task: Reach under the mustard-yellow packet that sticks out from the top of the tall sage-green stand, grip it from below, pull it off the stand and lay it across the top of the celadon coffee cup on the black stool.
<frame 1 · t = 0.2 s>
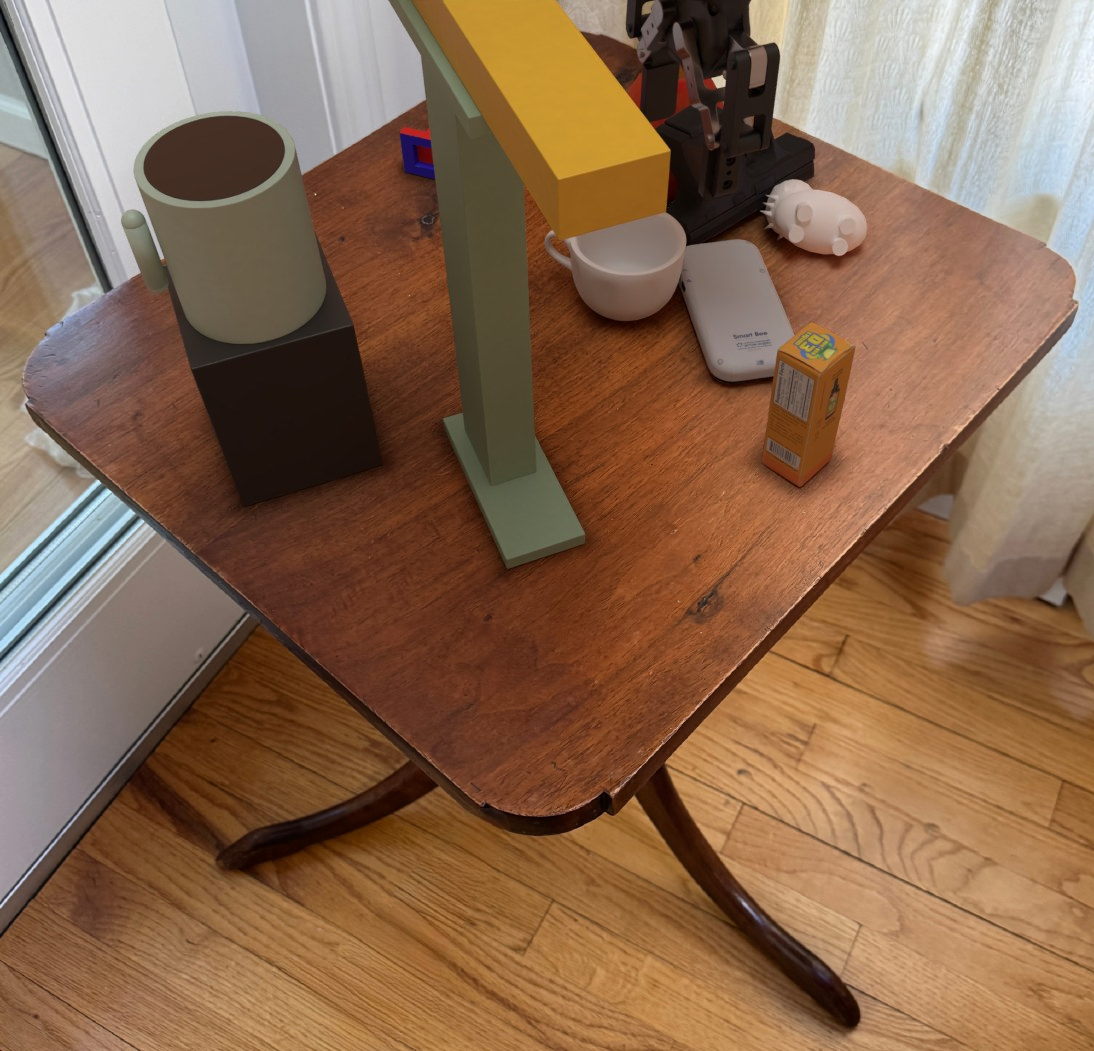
hand: (686, 154, 70), 13 cm above the table, tool pointing down, fingers open, 8 cm apart
toy building block: (411, 137, 90), point 2 cm above the table
apple: (666, 186, 88), on the table
grey smart device: (736, 296, 77), point 2 cm above the table
cup stand: (297, 435, 74), on the table
packet: (521, 89, 44), point 30 cm above the table, touching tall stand
teacup: (610, 297, 81), on the table
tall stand: (511, 483, 71), on the table
handgun: (739, 86, 78), point 10 cm above the table
toy creature: (820, 230, 80), point 3 cm above the table
supplement box: (792, 463, 72), on the table
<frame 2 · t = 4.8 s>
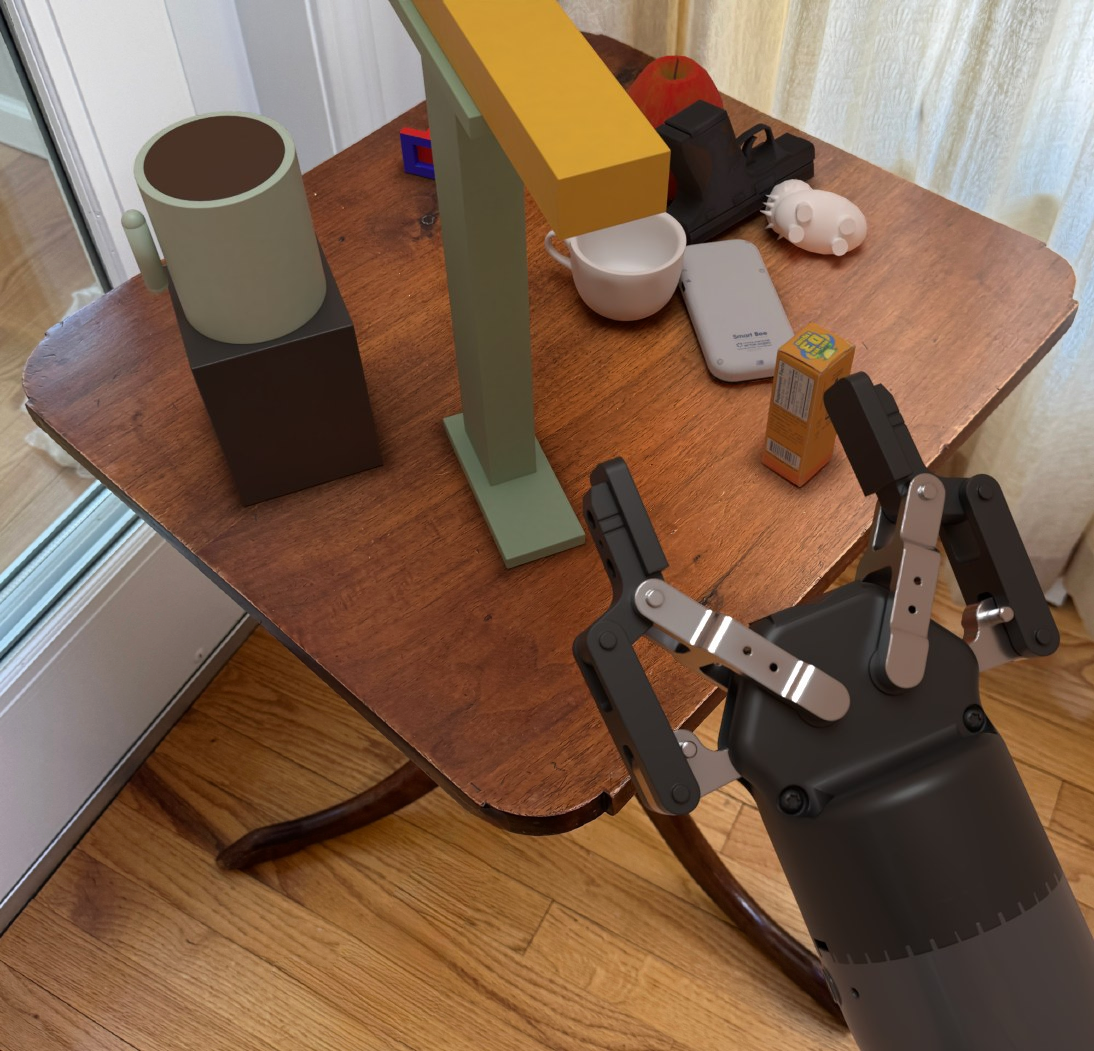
hand: (725, 422, 36), 28 cm above the table, tool pointing upward, fingers open, 8 cm apart
nothing on the table moved.
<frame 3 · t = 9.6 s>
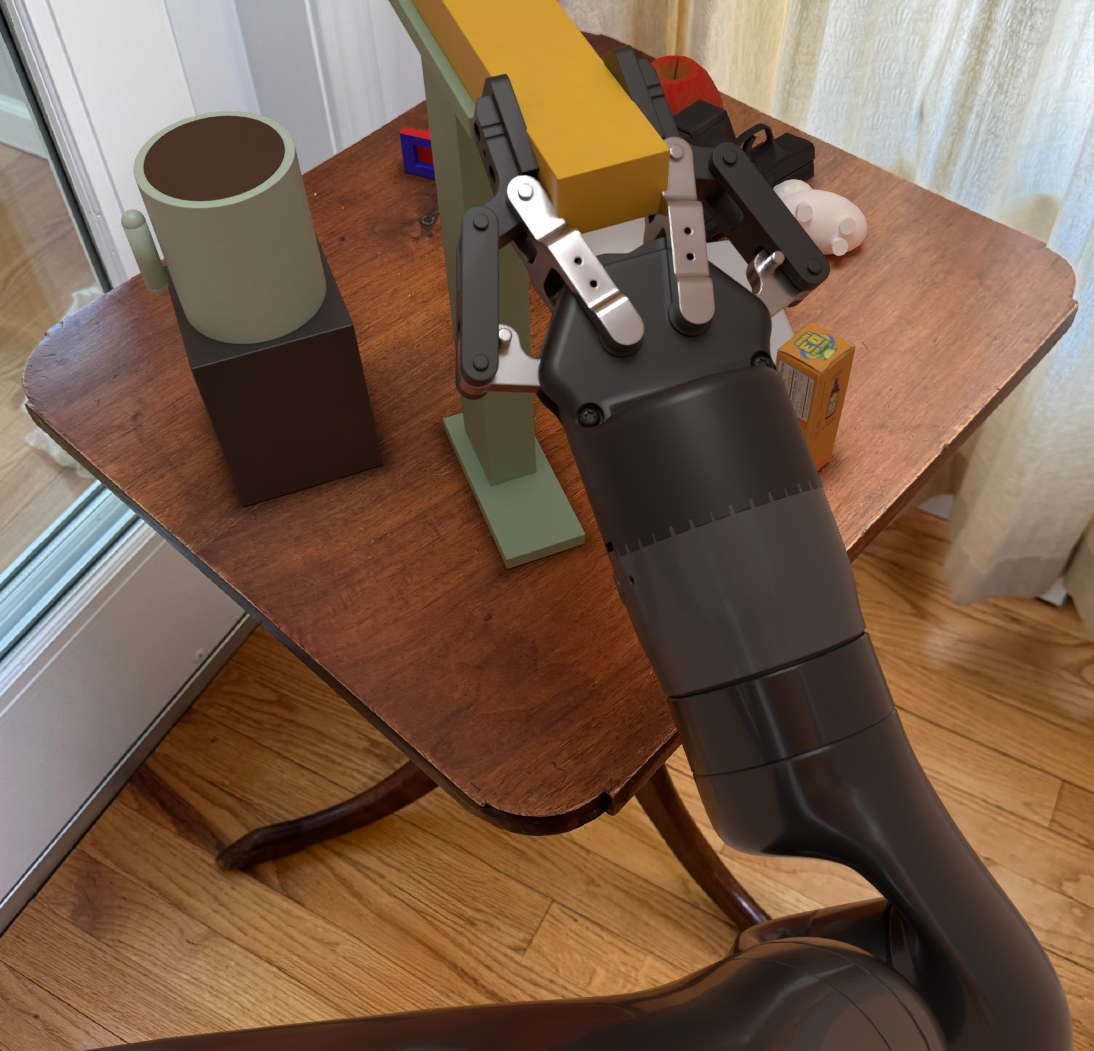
hand: (553, 75, 40), 33 cm above the table, tool pointing upward, fingers closed on packet, 4 cm apart
packet: (521, 88, 44), point 30 cm above the table, touching gripper, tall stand
everything else where it was.
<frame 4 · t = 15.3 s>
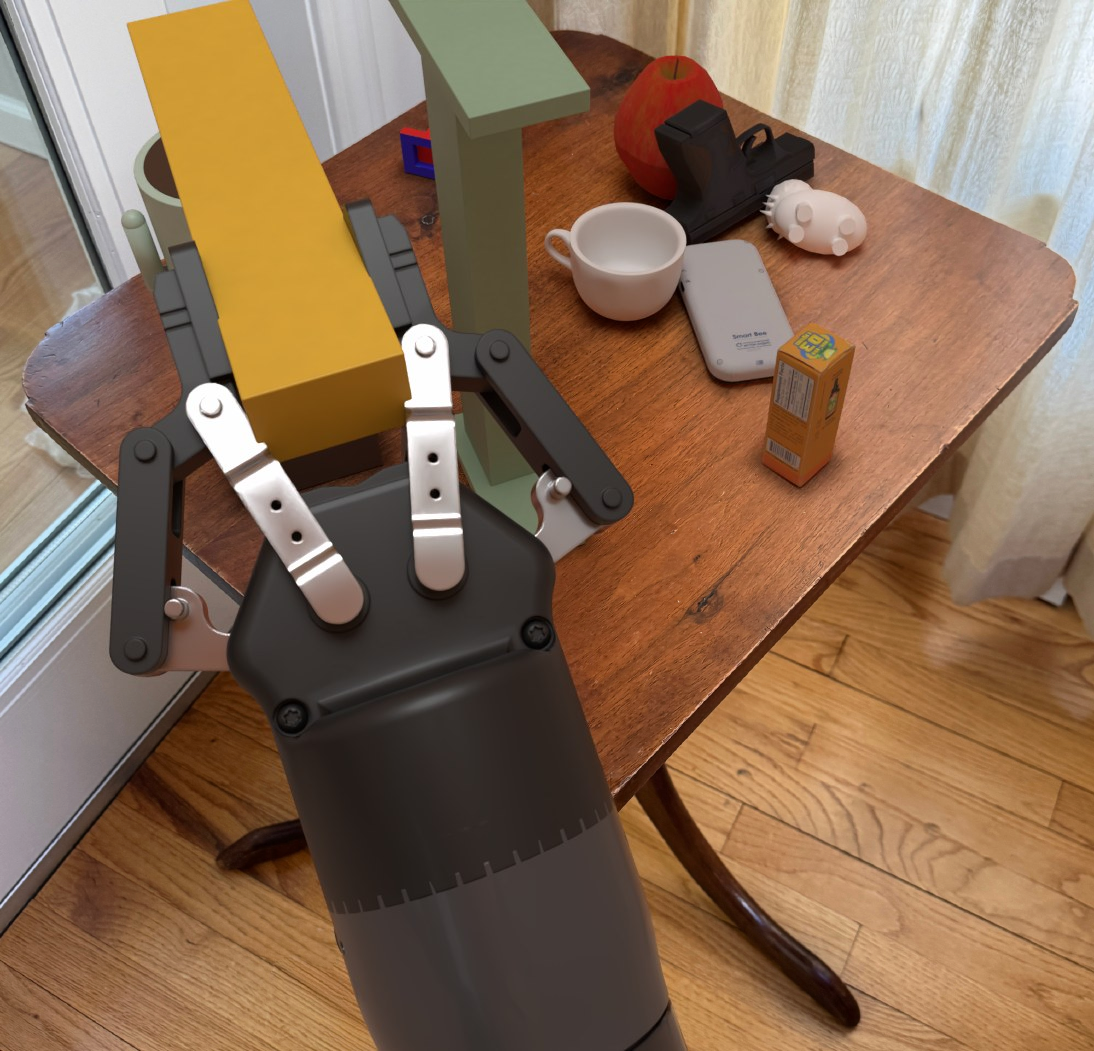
hand: (271, 236, 30), 36 cm above the table, tool pointing upward, fingers closed on packet, 4 cm apart
packet: (264, 234, 34), point 33 cm above the table, touching gripper
everything else where it was.
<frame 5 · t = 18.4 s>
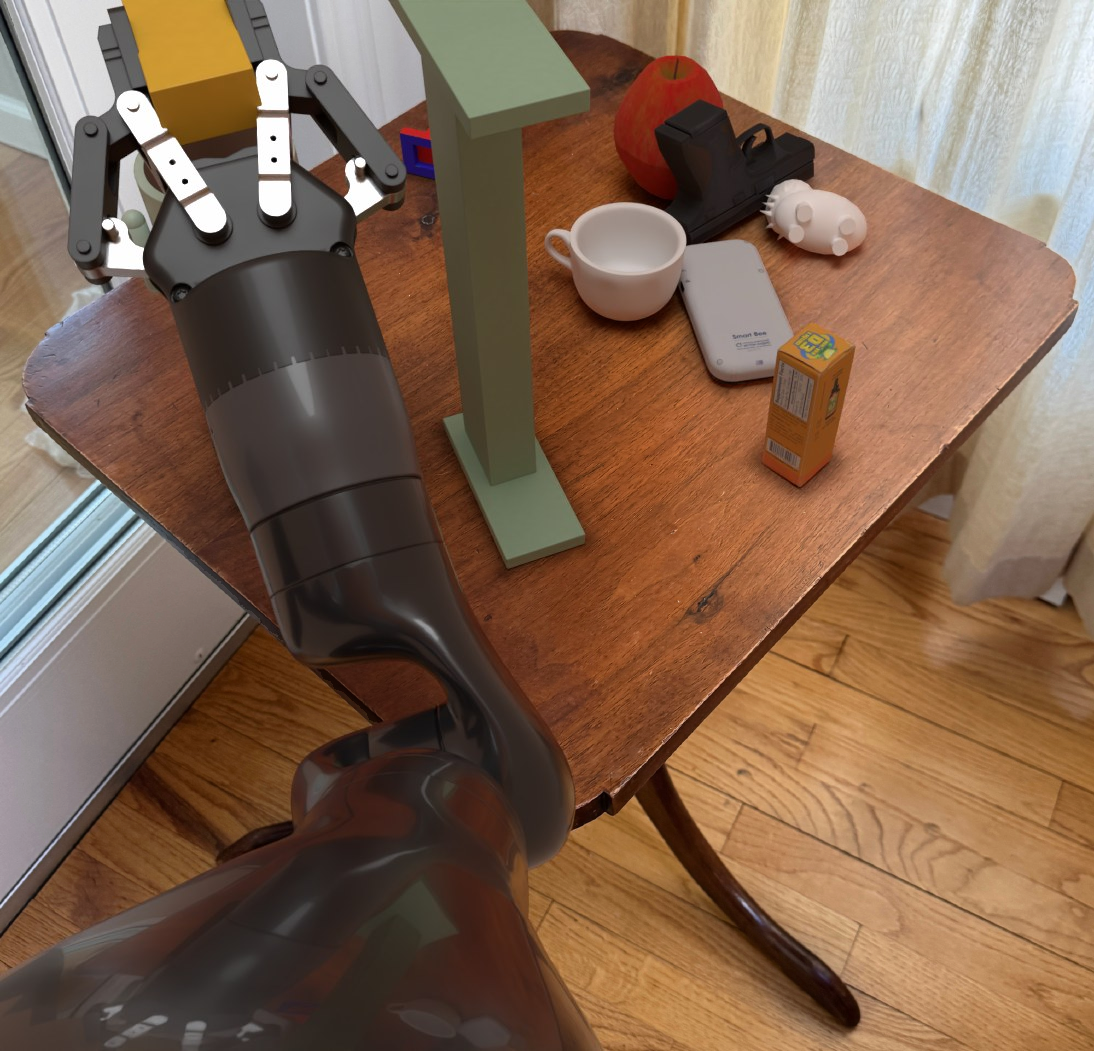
hand: (176, 8, 46), 31 cm above the table, tool pointing upward, fingers closed on packet, 4 cm apart
packet: (179, 26, 50), point 28 cm above the table, touching gripper
everything else where it was.
when the fingers open (24 cm above the table, at t = 20.8 s): packet stays where it is, resting on cup stand.
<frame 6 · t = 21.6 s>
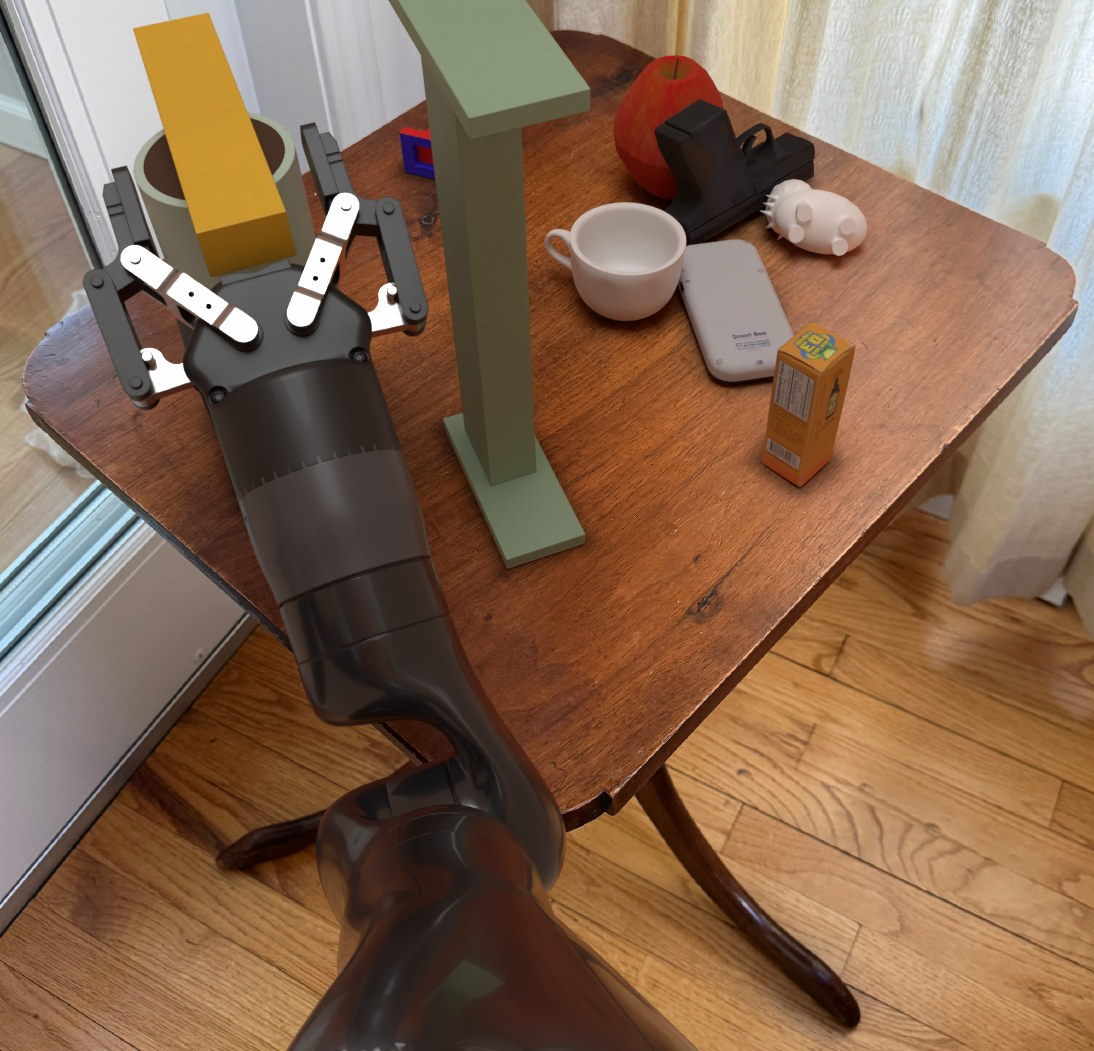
hand: (215, 152, 52), 24 cm above the table, tool pointing upward, fingers open, 8 cm apart
packet: (215, 156, 57), point 21 cm above the table, touching cup stand
everything else where it was.
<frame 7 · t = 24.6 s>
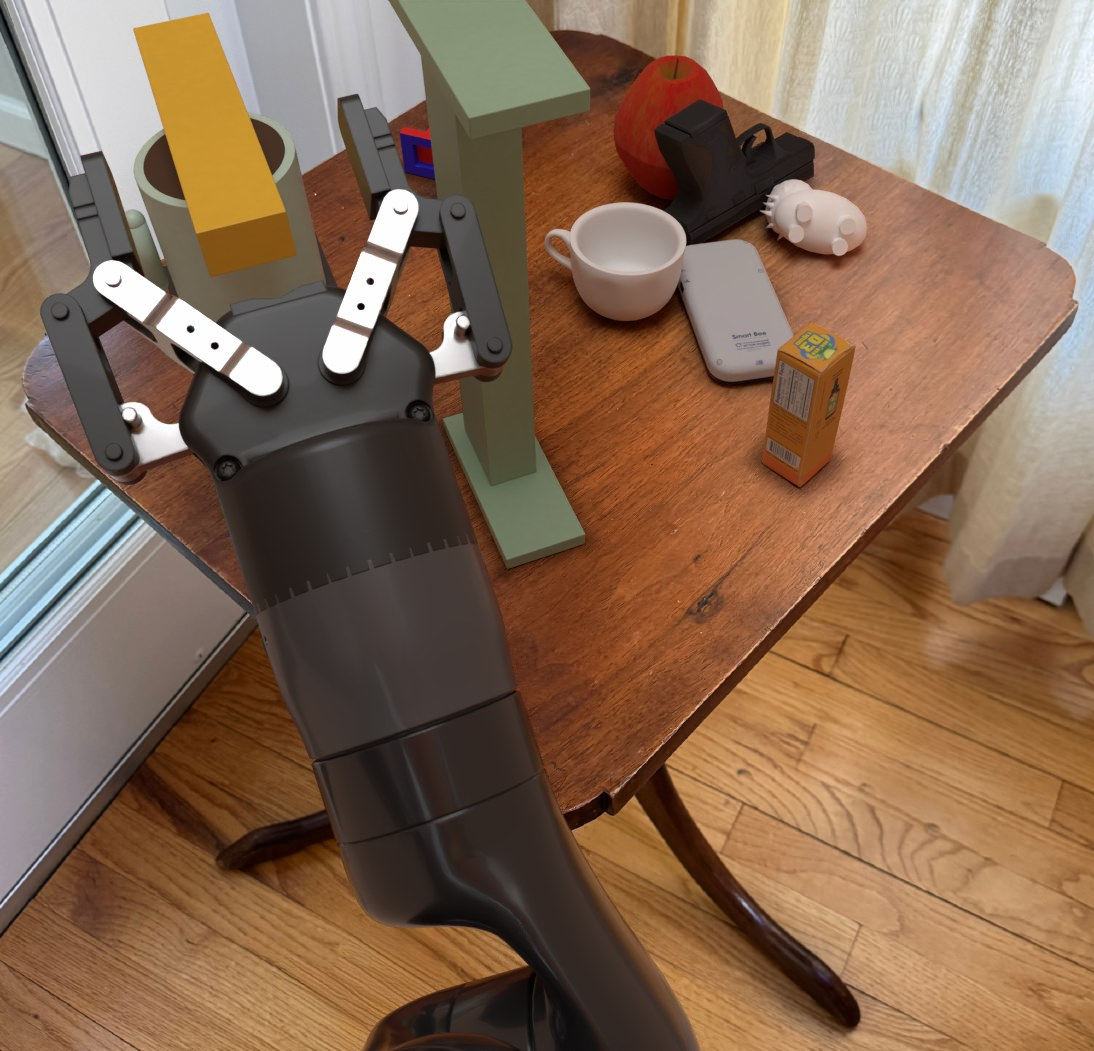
hand: (223, 134, 38), 33 cm above the table, tool pointing upward, fingers open, 8 cm apart
nothing on the table moved.
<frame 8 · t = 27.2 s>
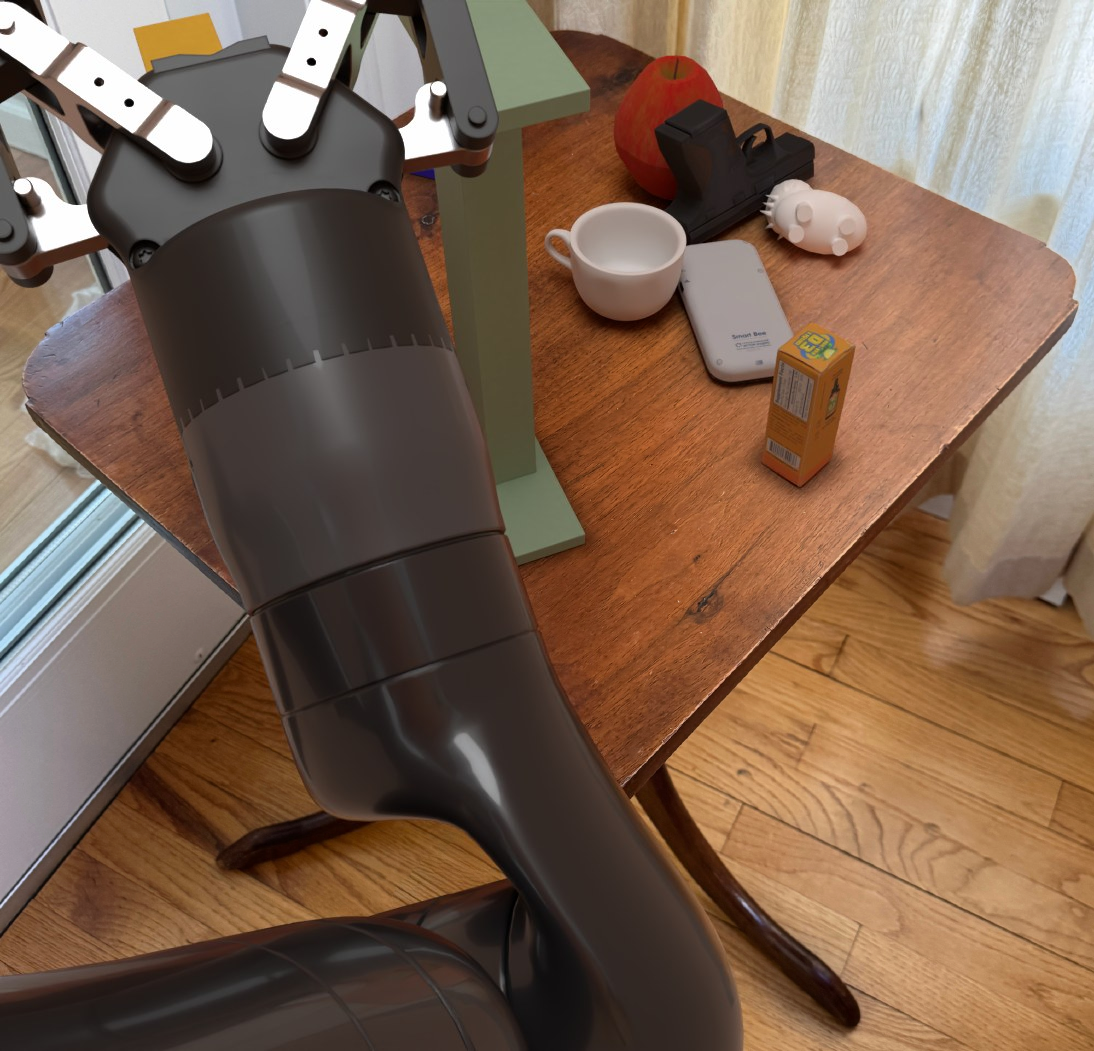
nothing on the table moved.
at the end: packet inside the target area on the cup stand (0.1 cm from its centre), point 21.0 cm above the cup stand's base; packet tilted 0°; the gripper is holding nothing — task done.
